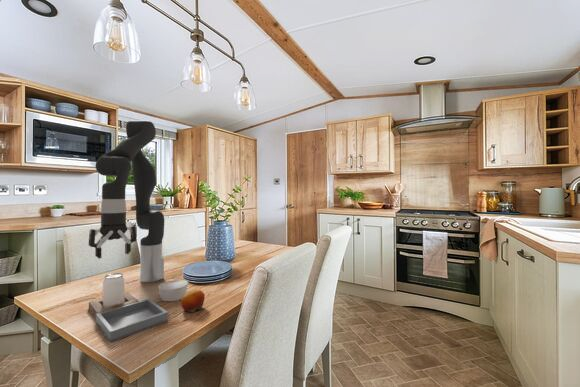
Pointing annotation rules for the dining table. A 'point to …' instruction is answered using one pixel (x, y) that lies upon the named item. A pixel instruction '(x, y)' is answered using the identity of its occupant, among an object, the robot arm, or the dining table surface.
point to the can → (113, 290)
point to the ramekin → (172, 290)
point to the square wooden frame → (98, 307)
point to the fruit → (193, 300)
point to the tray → (130, 319)
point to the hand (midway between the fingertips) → (113, 255)
